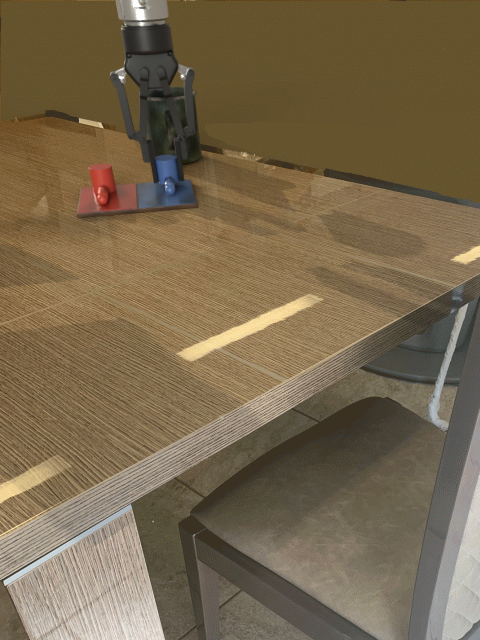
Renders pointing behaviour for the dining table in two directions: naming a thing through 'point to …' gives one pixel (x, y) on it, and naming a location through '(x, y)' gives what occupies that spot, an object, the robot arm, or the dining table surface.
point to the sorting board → (137, 199)
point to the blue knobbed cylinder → (167, 172)
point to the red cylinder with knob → (102, 181)
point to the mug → (170, 124)
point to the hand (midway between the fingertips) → (168, 179)
